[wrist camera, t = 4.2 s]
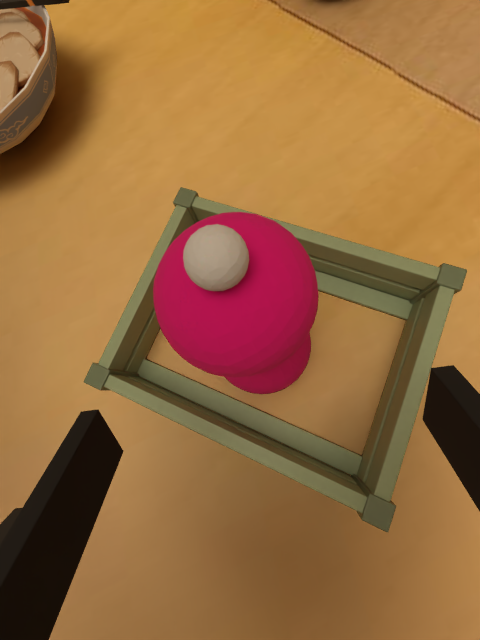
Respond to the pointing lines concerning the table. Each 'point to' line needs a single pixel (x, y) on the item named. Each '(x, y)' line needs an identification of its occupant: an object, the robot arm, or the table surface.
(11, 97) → the ramen bowl
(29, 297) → the table surface
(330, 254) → the crate
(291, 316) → the pepper mill
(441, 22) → the table surface
